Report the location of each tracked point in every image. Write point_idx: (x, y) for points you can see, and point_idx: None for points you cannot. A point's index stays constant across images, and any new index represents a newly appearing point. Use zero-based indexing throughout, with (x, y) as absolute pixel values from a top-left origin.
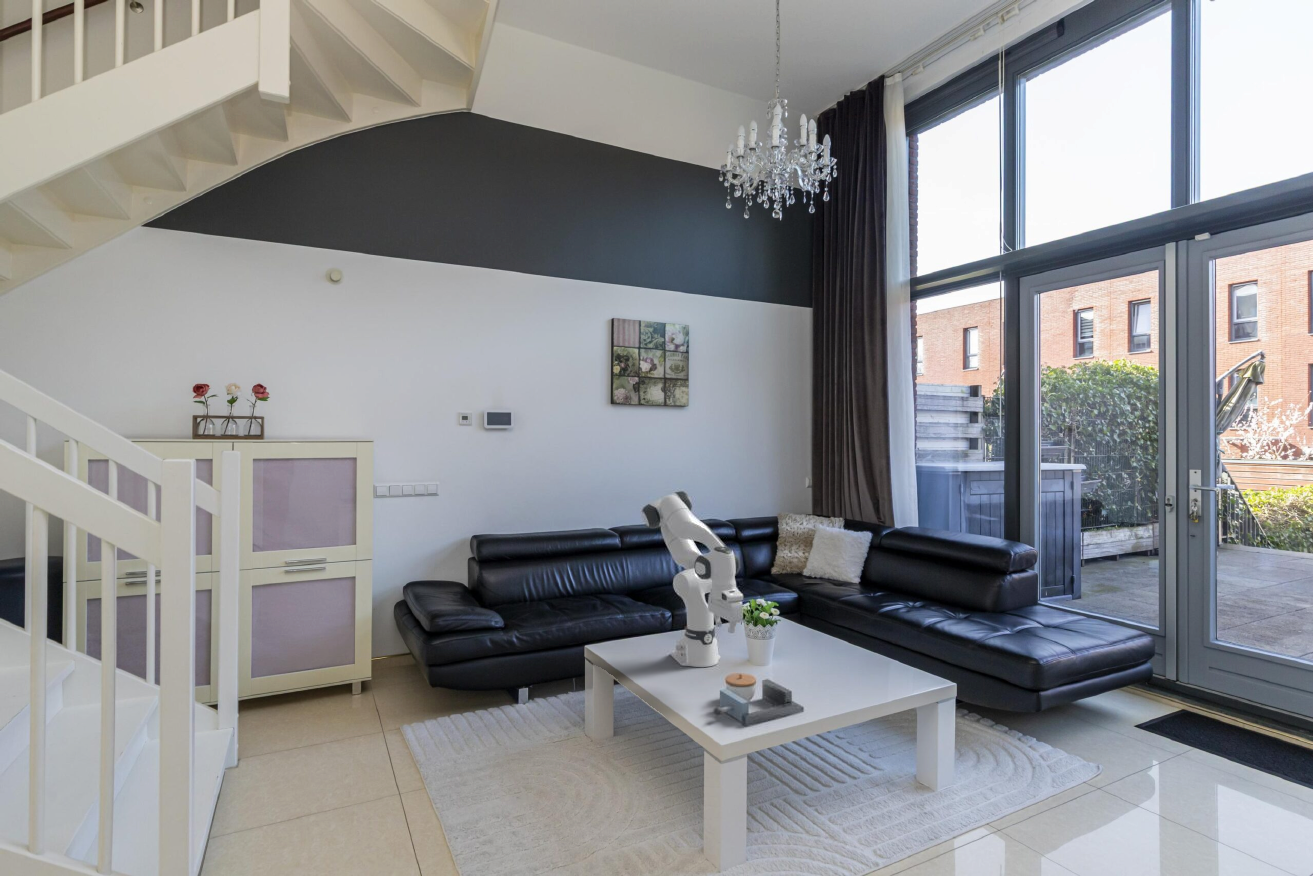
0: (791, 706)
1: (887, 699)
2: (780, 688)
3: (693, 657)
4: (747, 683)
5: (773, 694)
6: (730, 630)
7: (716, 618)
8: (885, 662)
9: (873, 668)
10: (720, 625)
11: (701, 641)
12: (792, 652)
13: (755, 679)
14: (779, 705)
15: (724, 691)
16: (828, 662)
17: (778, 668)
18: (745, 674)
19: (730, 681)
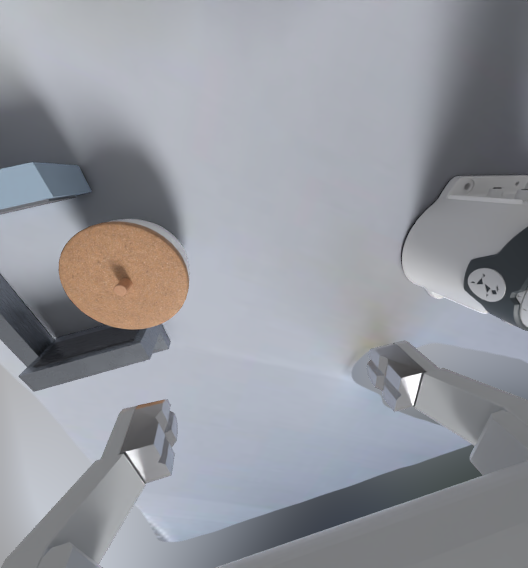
0: (23, 359)
1: None
2: (59, 371)
3: (452, 216)
4: (67, 290)
5: (90, 341)
6: (112, 437)
7: (468, 403)
8: (276, 506)
9: (260, 493)
10: (374, 374)
11: (489, 256)
12: (377, 420)
13: (113, 326)
14: (79, 335)
15: (12, 177)
16: (309, 453)
17: (319, 385)
18: (165, 309)
19: (91, 234)
